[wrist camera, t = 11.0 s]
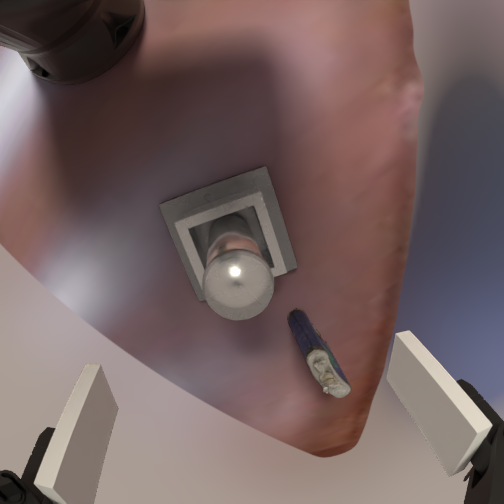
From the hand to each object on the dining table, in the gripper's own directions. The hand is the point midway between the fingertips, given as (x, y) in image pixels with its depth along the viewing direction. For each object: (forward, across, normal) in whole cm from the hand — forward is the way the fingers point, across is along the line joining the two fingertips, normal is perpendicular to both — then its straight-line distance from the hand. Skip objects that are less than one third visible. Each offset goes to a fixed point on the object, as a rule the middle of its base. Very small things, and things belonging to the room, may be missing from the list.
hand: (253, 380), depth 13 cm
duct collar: (+24, 0, 0) cm, 24 cm away
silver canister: (+23, 0, 0) cm, 23 cm away
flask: (+24, +9, -14) cm, 30 cm away
